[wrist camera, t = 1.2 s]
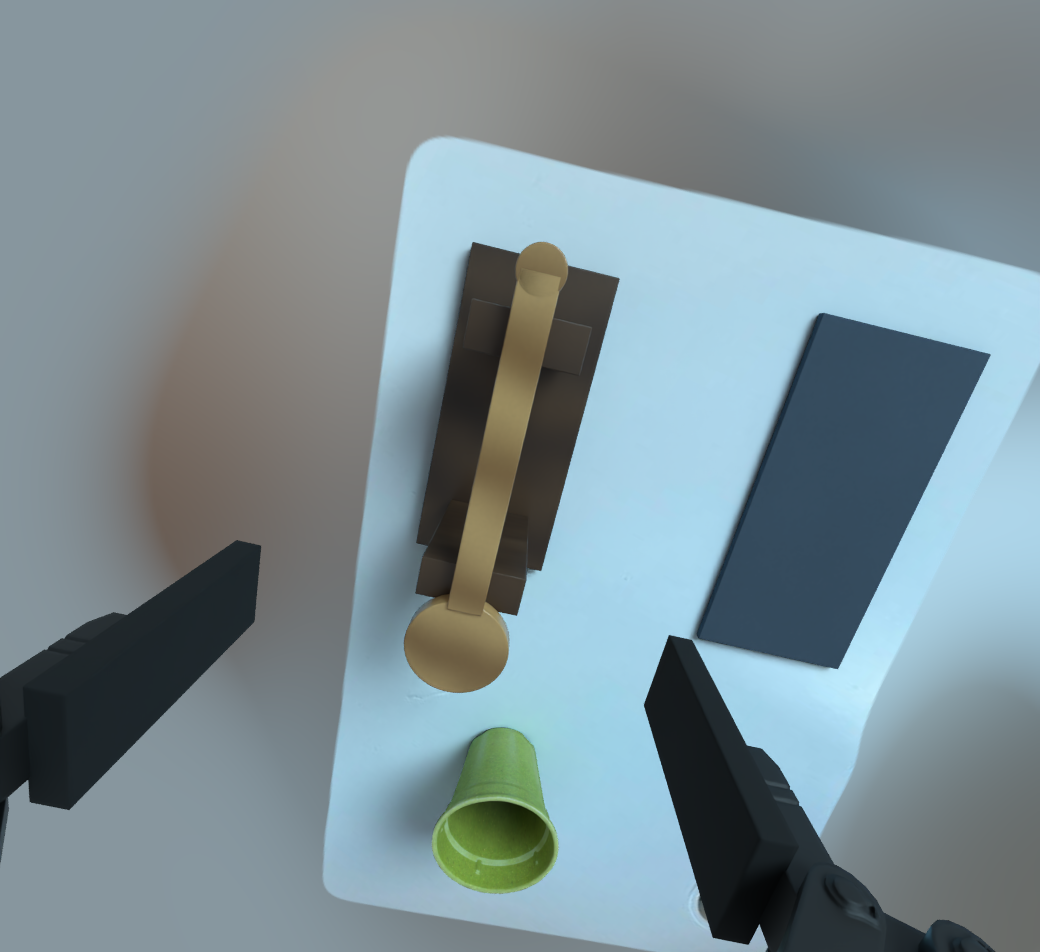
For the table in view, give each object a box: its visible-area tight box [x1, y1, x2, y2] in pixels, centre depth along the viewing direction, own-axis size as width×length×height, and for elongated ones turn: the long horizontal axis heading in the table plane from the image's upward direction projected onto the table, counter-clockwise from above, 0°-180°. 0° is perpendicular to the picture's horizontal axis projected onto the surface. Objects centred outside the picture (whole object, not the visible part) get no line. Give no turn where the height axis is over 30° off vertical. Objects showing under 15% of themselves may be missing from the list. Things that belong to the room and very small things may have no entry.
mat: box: [697, 313, 990, 669], centre depth 37 cm, size 26×12×1 cm, turn 167°
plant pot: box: [432, 728, 558, 894], centre depth 41 cm, size 9×9×9 cm
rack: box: [415, 242, 619, 616], centre depth 31 cm, size 22×10×11 cm, turn 167°
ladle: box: [404, 242, 568, 693], centre depth 26 cm, size 25×6×1 cm, turn 167°
